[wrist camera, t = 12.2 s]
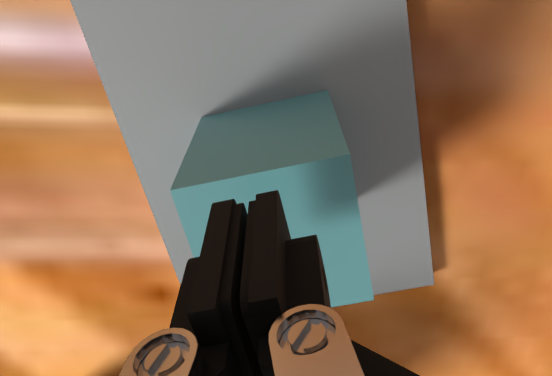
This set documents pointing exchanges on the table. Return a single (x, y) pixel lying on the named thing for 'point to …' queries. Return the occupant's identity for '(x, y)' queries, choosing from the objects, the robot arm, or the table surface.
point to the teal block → (281, 181)
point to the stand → (271, 100)
